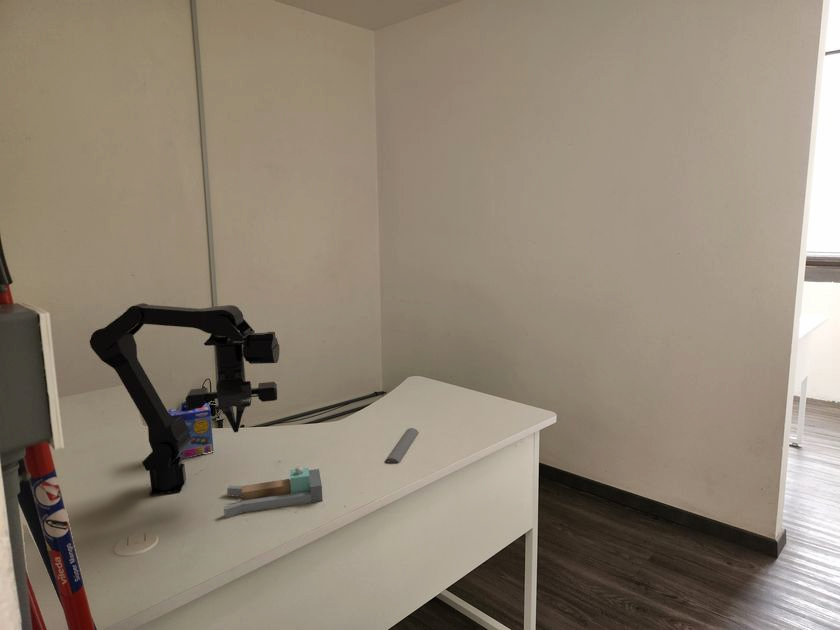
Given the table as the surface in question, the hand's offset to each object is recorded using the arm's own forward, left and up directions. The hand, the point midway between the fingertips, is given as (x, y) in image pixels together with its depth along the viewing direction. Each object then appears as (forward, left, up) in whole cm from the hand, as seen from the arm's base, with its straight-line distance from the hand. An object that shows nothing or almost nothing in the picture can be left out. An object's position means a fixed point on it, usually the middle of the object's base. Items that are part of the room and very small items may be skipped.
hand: (236, 431), depth 120 cm
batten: (+6, -8, -13) cm, 17 cm away
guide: (+8, -8, -13) cm, 17 cm away
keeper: (+13, -8, -13) cm, 20 cm away
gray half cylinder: (+40, +10, -14) cm, 43 cm away
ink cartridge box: (-13, +22, -13) cm, 29 cm away
